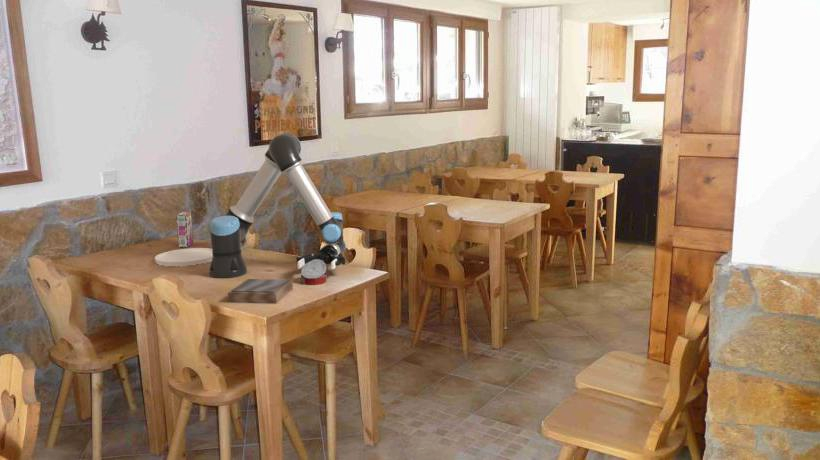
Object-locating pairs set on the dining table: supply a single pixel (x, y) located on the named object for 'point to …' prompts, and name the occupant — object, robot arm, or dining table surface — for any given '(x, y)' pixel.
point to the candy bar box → (184, 229)
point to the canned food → (314, 273)
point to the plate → (184, 257)
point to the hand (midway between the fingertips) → (315, 265)
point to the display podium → (260, 291)
